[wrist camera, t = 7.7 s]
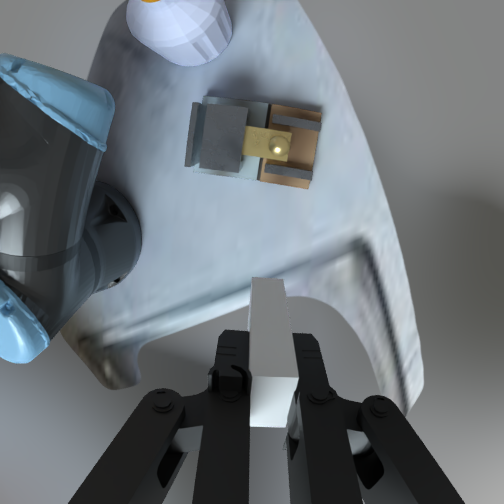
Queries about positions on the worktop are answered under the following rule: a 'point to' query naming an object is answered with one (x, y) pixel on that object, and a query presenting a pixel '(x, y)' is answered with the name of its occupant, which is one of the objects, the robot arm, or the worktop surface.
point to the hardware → (232, 139)
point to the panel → (262, 118)
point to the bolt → (266, 143)
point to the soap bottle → (181, 28)
